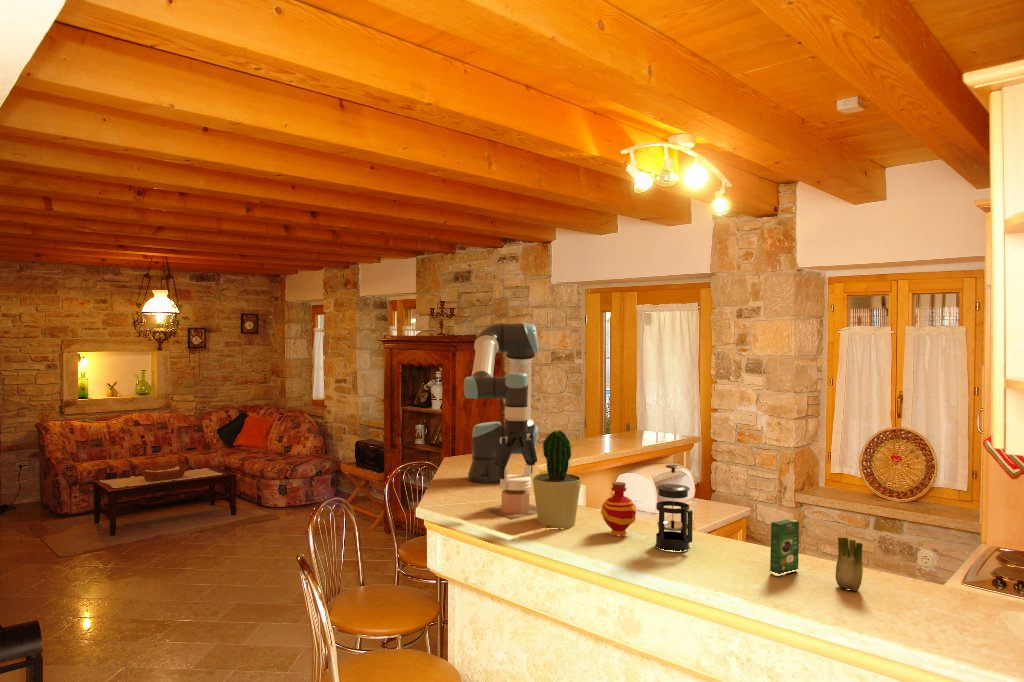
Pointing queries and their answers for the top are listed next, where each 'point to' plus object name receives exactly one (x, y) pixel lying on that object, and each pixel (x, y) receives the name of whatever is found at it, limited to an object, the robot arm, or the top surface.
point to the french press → (671, 538)
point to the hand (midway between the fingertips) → (515, 486)
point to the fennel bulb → (849, 564)
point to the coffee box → (784, 546)
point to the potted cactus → (557, 484)
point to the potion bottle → (618, 510)
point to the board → (498, 511)
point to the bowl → (515, 501)
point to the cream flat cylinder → (518, 482)
